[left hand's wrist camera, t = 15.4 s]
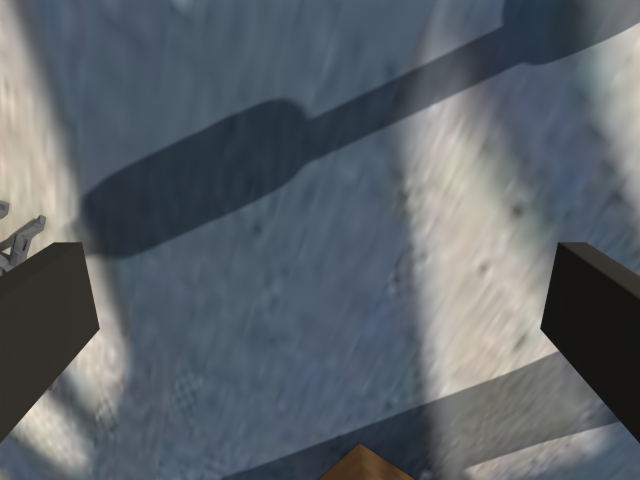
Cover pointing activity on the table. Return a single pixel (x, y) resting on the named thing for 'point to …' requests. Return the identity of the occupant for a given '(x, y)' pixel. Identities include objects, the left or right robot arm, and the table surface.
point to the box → (364, 467)
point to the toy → (20, 250)
